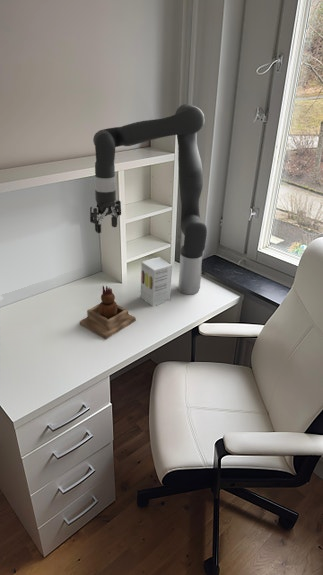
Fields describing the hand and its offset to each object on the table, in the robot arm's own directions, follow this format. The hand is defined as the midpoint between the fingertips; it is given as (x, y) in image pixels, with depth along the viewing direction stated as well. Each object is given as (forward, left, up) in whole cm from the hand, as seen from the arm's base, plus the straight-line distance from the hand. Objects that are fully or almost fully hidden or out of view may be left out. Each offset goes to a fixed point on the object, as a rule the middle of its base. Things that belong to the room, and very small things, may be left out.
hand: (106, 229), depth 160 cm
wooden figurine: (+14, +14, -29) cm, 35 cm away
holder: (+14, +14, -30) cm, 36 cm away
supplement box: (-12, +16, -30) cm, 36 cm away
